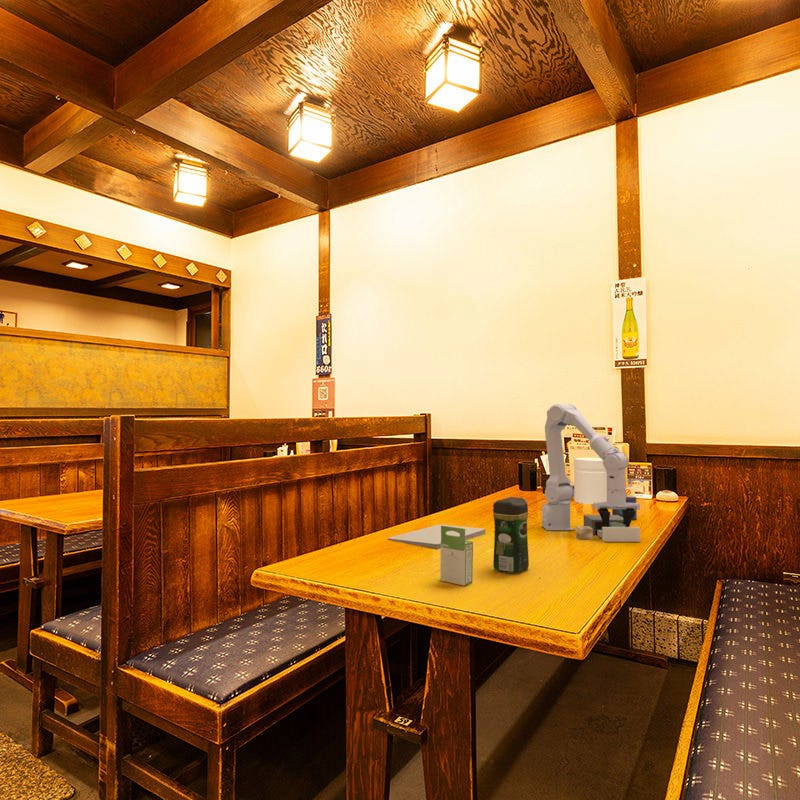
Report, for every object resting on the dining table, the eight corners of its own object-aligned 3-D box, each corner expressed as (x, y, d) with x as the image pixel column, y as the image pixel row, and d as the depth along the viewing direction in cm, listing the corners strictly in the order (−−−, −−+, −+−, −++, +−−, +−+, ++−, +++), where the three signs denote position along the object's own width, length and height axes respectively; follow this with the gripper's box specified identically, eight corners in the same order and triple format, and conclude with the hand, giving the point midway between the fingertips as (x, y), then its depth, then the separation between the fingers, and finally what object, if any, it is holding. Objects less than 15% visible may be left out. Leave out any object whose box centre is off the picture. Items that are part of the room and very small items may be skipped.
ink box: (473, 582, 129) (473, 526, 130) (464, 586, 126) (464, 529, 127) (448, 577, 134) (448, 522, 134) (439, 581, 130) (440, 525, 131)
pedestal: (580, 539, 175) (580, 528, 175) (576, 536, 179) (576, 526, 179) (592, 539, 175) (592, 528, 175) (588, 536, 179) (588, 526, 179)
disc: (611, 531, 173) (611, 525, 173) (605, 528, 179) (604, 522, 179) (628, 532, 173) (628, 525, 173) (621, 528, 179) (621, 522, 179)
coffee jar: (505, 563, 147) (505, 494, 147) (532, 568, 142) (532, 497, 143) (488, 570, 139) (488, 498, 140) (516, 576, 134) (516, 501, 135)
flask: (635, 519, 211) (634, 491, 211) (638, 520, 208) (637, 492, 208) (611, 518, 211) (610, 491, 211) (613, 520, 208) (613, 492, 209)
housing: (592, 535, 181) (592, 519, 182) (583, 529, 190) (583, 514, 191) (628, 535, 181) (628, 519, 181) (617, 529, 190) (617, 515, 190)
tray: (603, 541, 172) (603, 527, 172) (593, 535, 181) (593, 521, 181) (640, 541, 171) (639, 527, 172) (628, 535, 180) (628, 522, 181)
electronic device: (437, 550, 161) (437, 544, 161) (387, 540, 174) (387, 534, 174) (486, 534, 184) (486, 528, 184) (438, 527, 196) (438, 521, 196)
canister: (586, 498, 264) (585, 457, 264) (617, 502, 252) (616, 459, 252) (567, 501, 253) (567, 458, 254) (599, 505, 241) (598, 461, 242)
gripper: (598, 491, 172) (598, 534, 172) (643, 491, 172) (644, 534, 172) (590, 488, 179) (590, 529, 179) (634, 488, 179) (635, 529, 179)
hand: (616, 531), depth 176 cm, fingers closed on disc, 5 cm apart
